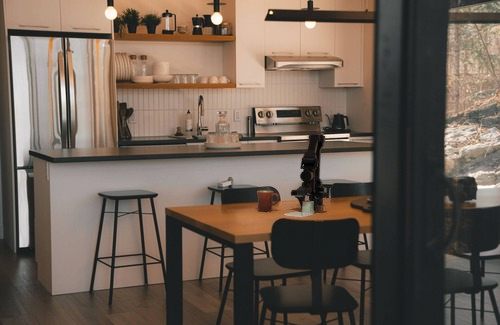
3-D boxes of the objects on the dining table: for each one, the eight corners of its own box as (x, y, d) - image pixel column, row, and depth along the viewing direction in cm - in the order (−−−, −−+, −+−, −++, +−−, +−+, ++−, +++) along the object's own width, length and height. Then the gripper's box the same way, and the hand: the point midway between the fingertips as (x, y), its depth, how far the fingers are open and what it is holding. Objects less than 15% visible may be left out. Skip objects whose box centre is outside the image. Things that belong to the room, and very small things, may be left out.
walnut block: (311, 212, 365) (311, 206, 364) (314, 210, 369) (314, 205, 369) (320, 212, 363) (320, 206, 362) (323, 211, 367) (323, 205, 367)
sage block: (302, 213, 359) (302, 201, 358) (307, 212, 362) (307, 200, 362) (309, 214, 356) (310, 202, 356) (314, 213, 360) (314, 201, 359)
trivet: (284, 215, 350) (284, 213, 350) (295, 213, 358) (295, 211, 358) (301, 217, 345) (301, 215, 344) (312, 215, 353) (312, 213, 352)
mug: (253, 211, 362) (253, 191, 361) (260, 209, 370) (260, 190, 369) (275, 213, 357) (275, 193, 356) (281, 211, 365) (282, 191, 364)
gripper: (284, 180, 357) (284, 210, 358) (316, 182, 346) (316, 214, 347) (296, 178, 366) (296, 208, 367) (328, 181, 355) (327, 211, 356)
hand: (308, 210), depth 359 cm, fingers open, 7 cm apart
